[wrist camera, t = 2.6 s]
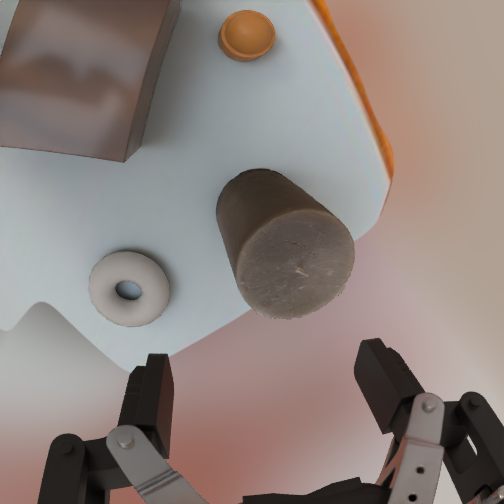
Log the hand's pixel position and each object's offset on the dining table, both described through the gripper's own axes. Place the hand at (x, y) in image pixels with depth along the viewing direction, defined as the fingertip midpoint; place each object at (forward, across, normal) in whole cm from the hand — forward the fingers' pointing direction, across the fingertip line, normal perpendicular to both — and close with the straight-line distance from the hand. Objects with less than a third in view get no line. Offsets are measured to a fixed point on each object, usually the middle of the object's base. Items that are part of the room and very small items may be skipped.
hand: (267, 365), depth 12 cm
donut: (+24, +13, +9) cm, 29 cm away
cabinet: (+22, +14, -16) cm, 31 cm away
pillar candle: (+25, -3, +1) cm, 25 cm away
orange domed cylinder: (+24, -1, -19) cm, 30 cm away
